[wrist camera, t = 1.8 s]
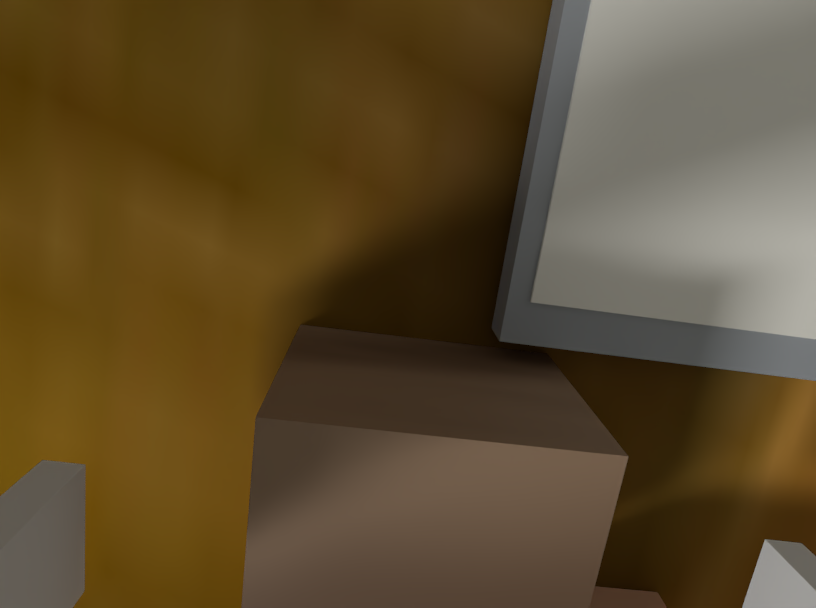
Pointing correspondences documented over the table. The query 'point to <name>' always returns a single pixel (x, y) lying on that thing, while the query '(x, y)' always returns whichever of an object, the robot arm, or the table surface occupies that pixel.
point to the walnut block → (425, 478)
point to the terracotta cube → (625, 598)
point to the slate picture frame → (670, 187)
